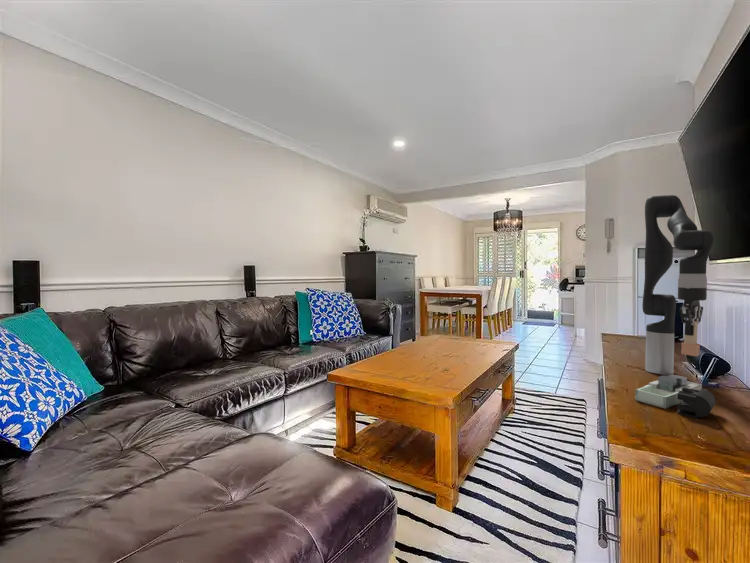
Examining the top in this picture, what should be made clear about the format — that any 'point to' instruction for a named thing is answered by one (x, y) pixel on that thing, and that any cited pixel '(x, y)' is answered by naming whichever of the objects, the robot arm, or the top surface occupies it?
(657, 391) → the slot board
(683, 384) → the grey cube block
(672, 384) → the dark grey cube
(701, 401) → the end cap
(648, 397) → the tray
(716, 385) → the top surface
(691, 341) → the two-tone stepped bar
